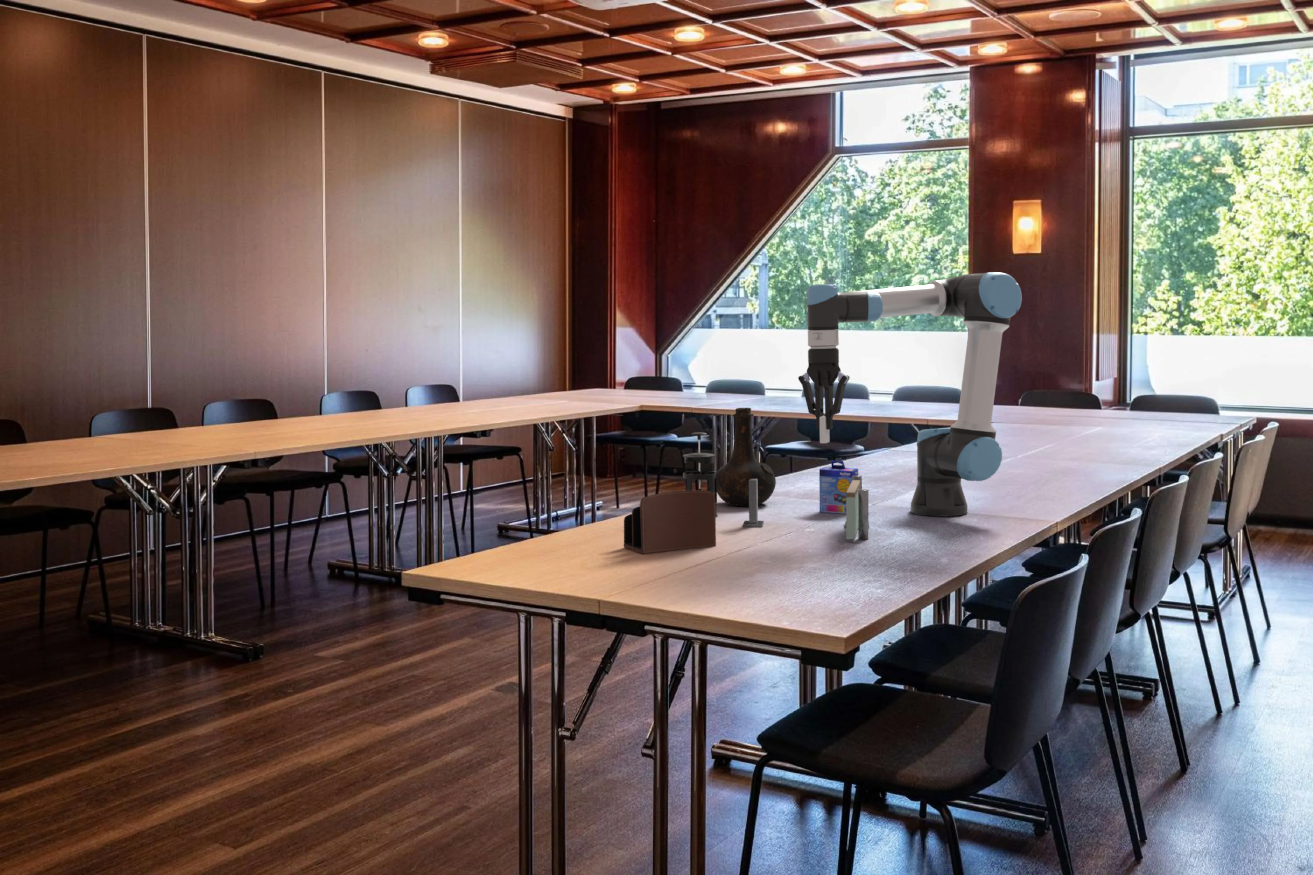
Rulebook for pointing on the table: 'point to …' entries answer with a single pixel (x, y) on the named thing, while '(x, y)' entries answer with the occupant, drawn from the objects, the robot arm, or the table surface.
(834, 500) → the ink cartridge box
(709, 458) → the french press
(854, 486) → the gate
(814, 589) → the table surface
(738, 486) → the dark brown vase
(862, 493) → the pair of grey posts
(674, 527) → the letter holder
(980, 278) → the robot arm
